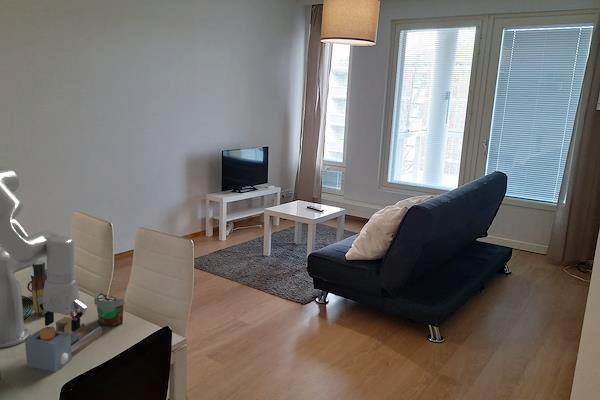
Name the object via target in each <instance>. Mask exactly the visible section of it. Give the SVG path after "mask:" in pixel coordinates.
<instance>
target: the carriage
mask: <svg viewBox="0 0 600 400" xmlns="http://www.w3.org/2000/svg"><path fill="white" fill-rule="evenodd" d="M71 320H73V319H72V317H67V316H64V317H62V318H60V319H59V320H57V321H56V322H55V331H60V332H65V333H70V337H71V346H72V345H73V344H75V343H76V342H78V341H79V335H78V334H74V332H72V331H71Z"/></svg>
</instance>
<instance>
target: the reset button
mask: <svg viewBox="0 0 600 400" xmlns="http://www.w3.org/2000/svg"><path fill="white" fill-rule="evenodd" d="M42 328H43V329H42ZM42 328H40V329H41V330H40V329H39V330H40V339H41V340H44V341H50V340H52V339H53V338H55V331H56V327H53V326H45V327H42Z"/></svg>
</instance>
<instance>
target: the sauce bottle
mask: <svg viewBox="0 0 600 400" xmlns="http://www.w3.org/2000/svg"><path fill="white" fill-rule="evenodd" d="M45 266H46V262H45V261H44V260H37V261H36V263H35V264H33V265H32V268H33V272H34V276H33V279H31V284H30V285H31V291H32V292H31V296H32V303H33V311H34V315H35V316H38V317H45V314H43V312H42V311H43V310H42V309H41V308H40V306H39V305H40V304H39V303H38V301H37V298H39V297H41V296H43V290H44V284H45V280H46V279H47V274H45V269H46V267H45Z"/></svg>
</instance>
